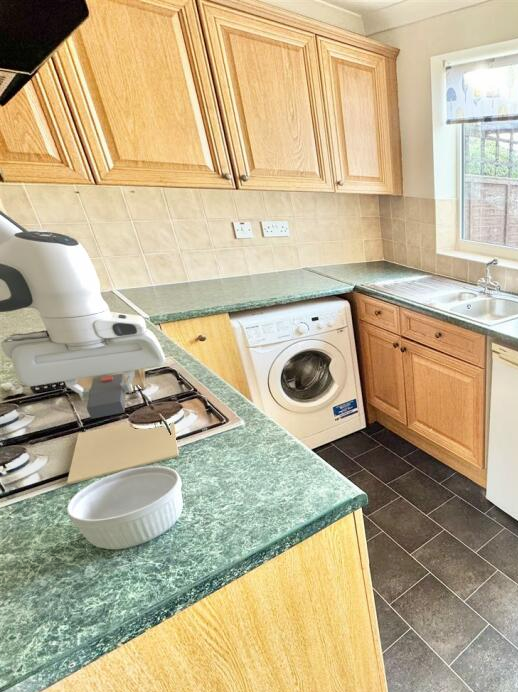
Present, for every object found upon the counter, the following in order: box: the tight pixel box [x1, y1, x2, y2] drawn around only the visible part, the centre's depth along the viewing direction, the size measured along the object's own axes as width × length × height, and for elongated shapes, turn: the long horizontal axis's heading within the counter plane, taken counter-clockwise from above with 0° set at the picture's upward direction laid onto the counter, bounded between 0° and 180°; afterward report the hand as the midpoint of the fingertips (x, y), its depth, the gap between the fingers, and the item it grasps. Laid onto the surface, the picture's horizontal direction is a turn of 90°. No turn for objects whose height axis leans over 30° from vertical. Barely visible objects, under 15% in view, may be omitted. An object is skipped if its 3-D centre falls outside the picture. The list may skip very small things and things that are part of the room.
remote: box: [86, 374, 127, 420], centre depth 82 cm, size 5×15×3 cm, turn 38°
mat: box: [66, 421, 180, 485], centre depth 86 cm, size 16×20×1 cm
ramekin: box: [66, 465, 184, 550], centre depth 66 cm, size 13×13×7 cm
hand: (108, 394), depth 82 cm, fingers closed on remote, 4 cm apart
